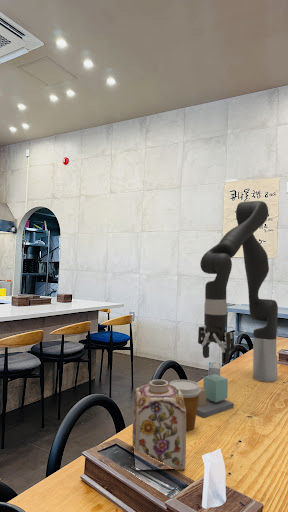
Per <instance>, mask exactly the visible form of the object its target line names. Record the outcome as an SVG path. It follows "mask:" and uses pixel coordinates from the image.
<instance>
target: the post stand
mask: <svg viewBox="0 0 288 512" xmlns="http://www.w3.org/2000/svg"><path fill="white" fill-rule="evenodd" d="M199 388H200V389H201V392H200V394H199V398H198V405H197V412H196V416H199V417H201V418H203V419H204V418H207V417H211V416H212V415H216V414H219V413H222V412H226V411H228V410H231V409H234V407H235V403H234V402H231V401H230V400H227V399H224V400H221V401H218V402H214V401H212V400H210V399H208V398H206V390H205V389H203V387H199Z"/></svg>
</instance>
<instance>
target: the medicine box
mask: <svg viewBox="0 0 288 512" xmlns="http://www.w3.org/2000/svg"><path fill="white" fill-rule="evenodd" d="M207 370H208V371H207V374H208V375H207V376H209V375H214V374H216V375H219V376H221V363H220V362H213V361H212V362H209V363H208V369H207Z"/></svg>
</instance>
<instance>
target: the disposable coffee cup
mask: <svg viewBox="0 0 288 512" xmlns="http://www.w3.org/2000/svg"><path fill="white" fill-rule="evenodd" d="M168 384H169V385H171V386H174V387H176V388H179V389H180V390H181V391H182V394H183V398H184V399H183V400H184V402H185V407H186V432H190V431H193V430H194V429H196V428H195V426H196V418H197V414H196V412H197V405H198V398H199V394H200V392H201V389H200V388H201V387H200V385H199V383H198V382H196V381H193V380H188V379H176V380H172V381H170V382H168Z"/></svg>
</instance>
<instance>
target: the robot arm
mask: <svg viewBox="0 0 288 512" xmlns="http://www.w3.org/2000/svg"><path fill="white" fill-rule="evenodd" d="M235 216H236V217H235V218H236V222H237V225H236V226H234V227H233V228H232V229H230V230H228V231H227V232H226V233H225V235H224V236H223V237H222V238H221V239H220V241H219V242H218V243H217V244H215V245H214V246H212V248H210V249H208V250H207V251H206V252H205V253H204V254H203V256H202V257H201V260H200V264H199V265H200V266H199V267H200V269H201V270H202V272H203V273H204V274H206V275H207V274H209V275H216V276H215V278H214V279H213V280H210V281H207V282H206V283H205V287H204V288H205V291H204V292H205V294H204V310H203V311H204V313H203V314H204V318H203V319H204V322H203V324H204V326H199V327H198V331H197V333H198V335H197V337H198V338H197V344H199V345H201V347H202V356H203V358H205V359H208V358H210V344H211V343H215V344H217V345H218V347H220V350H221V351H222V352H221V363H222V364H223V365H226V364H228V363H229V362H230V352H233V351H235V334H234V332H233V331H230V332H227V330H226V329H227V326H228V303H227V286H228V283H229V279H230V274H231V273H232V272H231V271H232V267H233V262H232V259H233V257H235V256H236V254H237V252H238V251H239V250H240V248H241V247H242V252H243V262H244V269H245V275H246V282H247V290H248V291H247V292H248V310H249V316H250V317H251V319H252V320H254V321H260V322H266V325H265V326H263V327H258V328H255V329H254V330H253V335H252V338H253V340H252V341H253V342H252V343H253V345H252V351H253V352H252V353H253V354H252V358H253V359H252V378H253V379H254V380H257V381H259V382H265V383H274V382H276V381H277V379H278V356H277V334H278V333H277V332H278V331H277V330H278V315H279V314H278V313H279V310H278V309H279V308H278V307H279V306H278V303H277V301H276V300H275V299H268V298H267V299H266V298H260V297H259V292H260V288H261V286H262V284H263V283H264V282H265V280H266V278H267V276H268V274H269V272H270V267H269V259H268V258H269V257H268V254H267V251H266V250H265V248H264V247H263V246H262V245H261V243H260V242H259V241H258V239H257V238H256V236H255V234H254V233H255V232H256V231H257V230H258V229H259V228H261V227H262V226H263V225H264V224H265V223H266V221H267V219H268V216H269V208H268V204H267V203H266V202H265V201H262V200H253V201H251V200H250V201H242V202H239V203H238V204H237V207H236V210H235Z"/></svg>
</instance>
